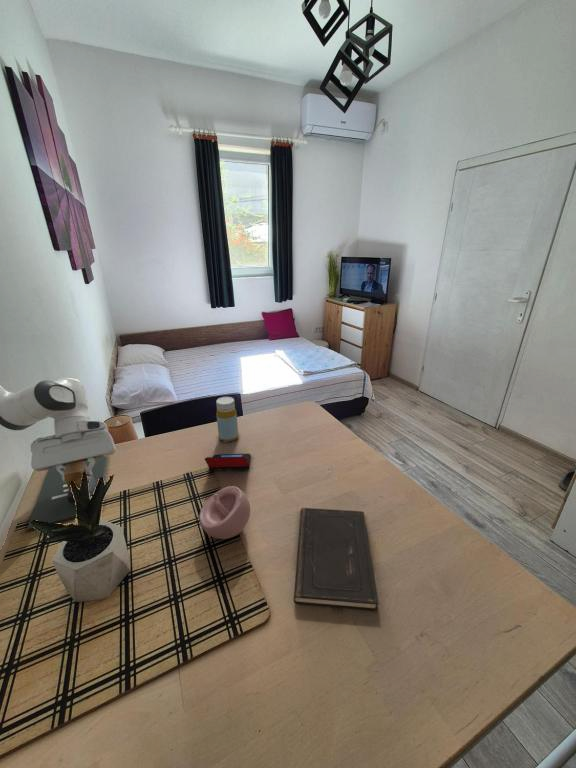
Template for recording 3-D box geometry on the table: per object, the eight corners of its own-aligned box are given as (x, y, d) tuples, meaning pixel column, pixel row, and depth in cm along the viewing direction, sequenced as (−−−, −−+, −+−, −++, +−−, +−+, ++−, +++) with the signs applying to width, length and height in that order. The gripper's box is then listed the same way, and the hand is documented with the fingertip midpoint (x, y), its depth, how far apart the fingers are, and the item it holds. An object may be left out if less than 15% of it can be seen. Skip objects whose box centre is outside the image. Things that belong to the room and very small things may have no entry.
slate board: (27, 531, 80) (26, 529, 80) (50, 470, 102) (49, 468, 101) (100, 511, 86) (100, 508, 86) (107, 457, 108) (106, 455, 107)
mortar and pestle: (201, 516, 84) (196, 481, 79) (247, 507, 86) (245, 472, 82) (202, 556, 73) (196, 517, 69) (254, 544, 76) (252, 506, 71)
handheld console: (251, 456, 108) (250, 436, 105) (248, 477, 98) (246, 457, 95) (213, 456, 108) (211, 437, 105) (206, 478, 98) (203, 457, 95)
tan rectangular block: (69, 502, 88) (60, 479, 85) (74, 480, 96) (66, 458, 93) (90, 497, 90) (82, 473, 86) (93, 475, 98) (86, 453, 95)
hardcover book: (363, 518, 83) (363, 511, 82) (377, 611, 62) (378, 603, 61) (300, 514, 84) (300, 507, 83) (293, 604, 63) (293, 596, 62)
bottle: (224, 431, 122) (221, 395, 117) (241, 433, 120) (238, 397, 114) (215, 440, 116) (211, 403, 110) (233, 444, 114) (229, 406, 108)
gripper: (25, 436, 88) (28, 487, 84) (109, 420, 96) (115, 466, 92) (34, 442, 94) (37, 490, 89) (113, 426, 101) (119, 470, 97)
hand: (77, 478), depth 91 cm, fingers closed on tan rectangular block, 4 cm apart
